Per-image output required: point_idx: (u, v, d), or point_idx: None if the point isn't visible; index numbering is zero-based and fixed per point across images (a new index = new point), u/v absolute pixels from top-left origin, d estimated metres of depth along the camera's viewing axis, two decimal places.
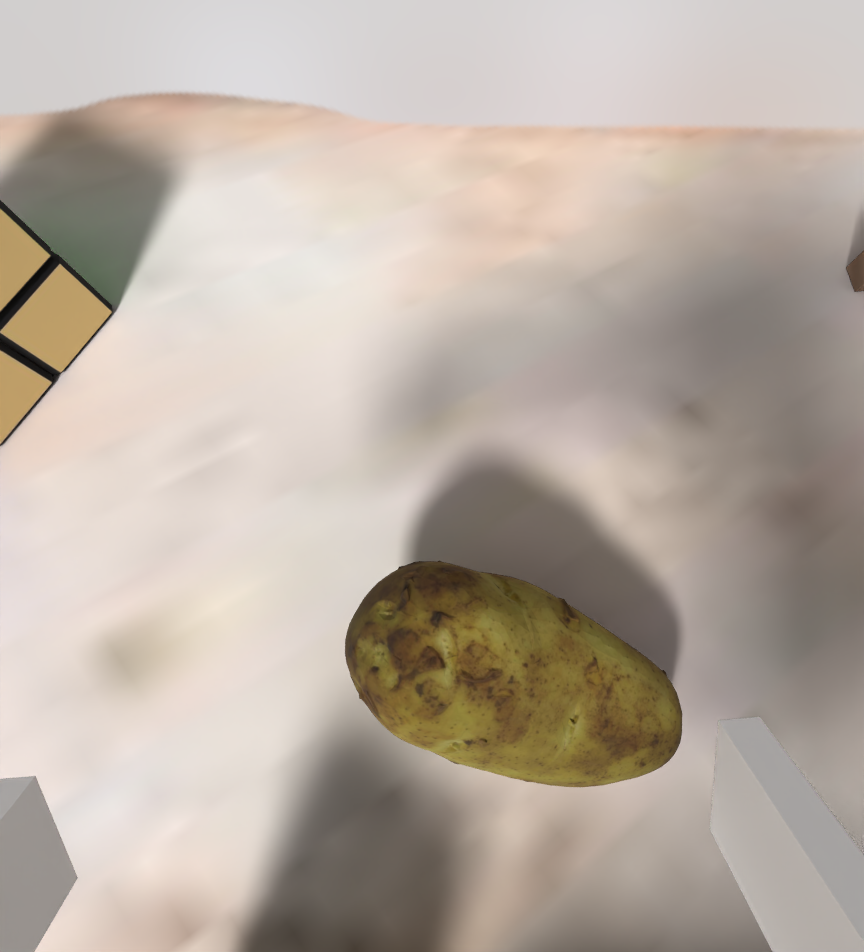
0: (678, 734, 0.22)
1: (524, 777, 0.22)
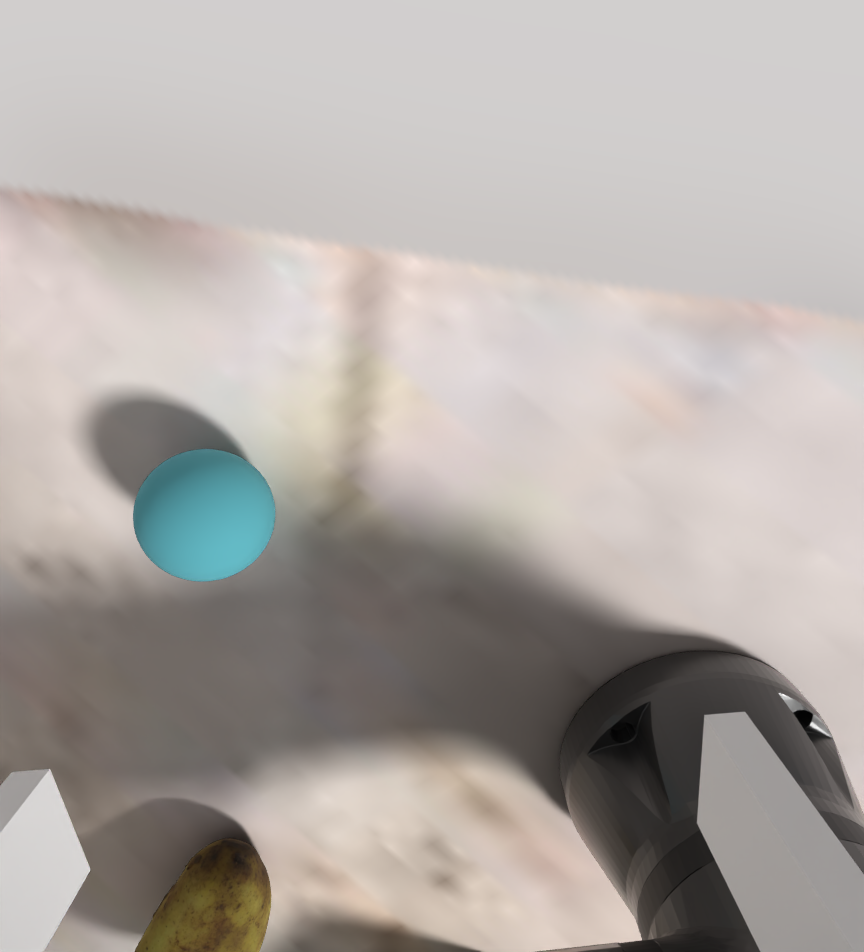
0: (220, 882, 0.33)
1: None
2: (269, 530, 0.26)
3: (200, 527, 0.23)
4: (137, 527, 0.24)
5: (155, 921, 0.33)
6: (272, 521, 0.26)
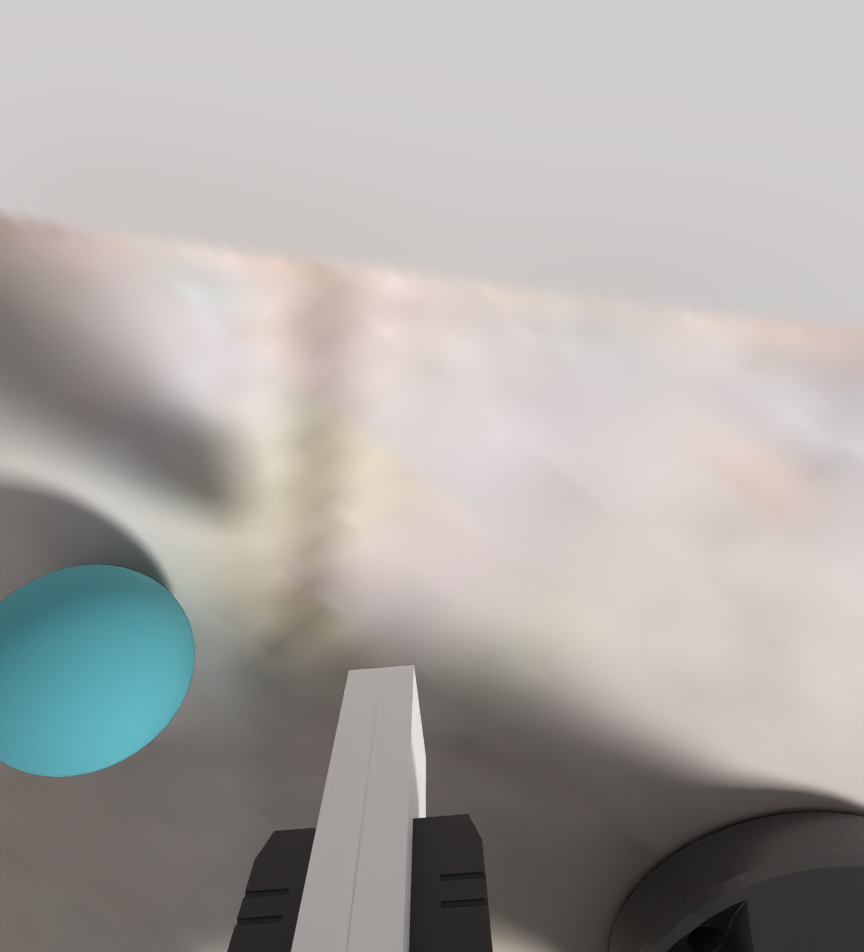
0: None
1: None
2: (180, 689, 0.17)
3: (51, 713, 0.14)
4: None
5: None
6: (185, 673, 0.17)
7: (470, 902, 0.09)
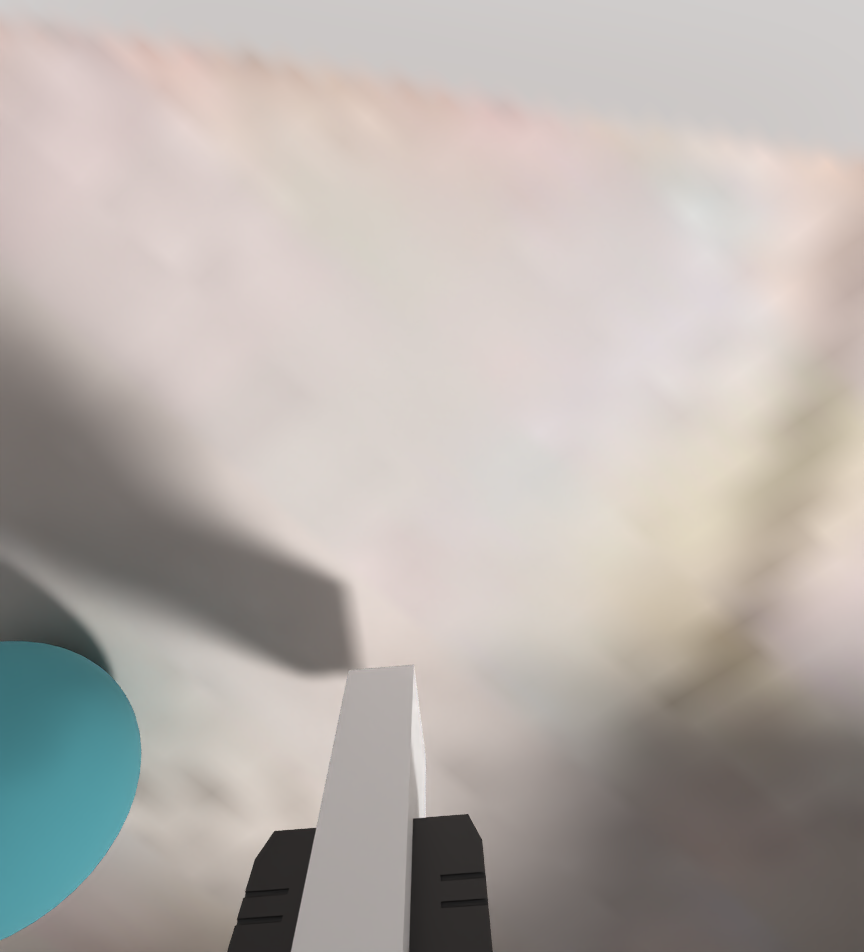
0: None
1: None
2: None
3: None
4: (125, 727, 0.13)
5: None
6: None
7: (470, 902, 0.09)
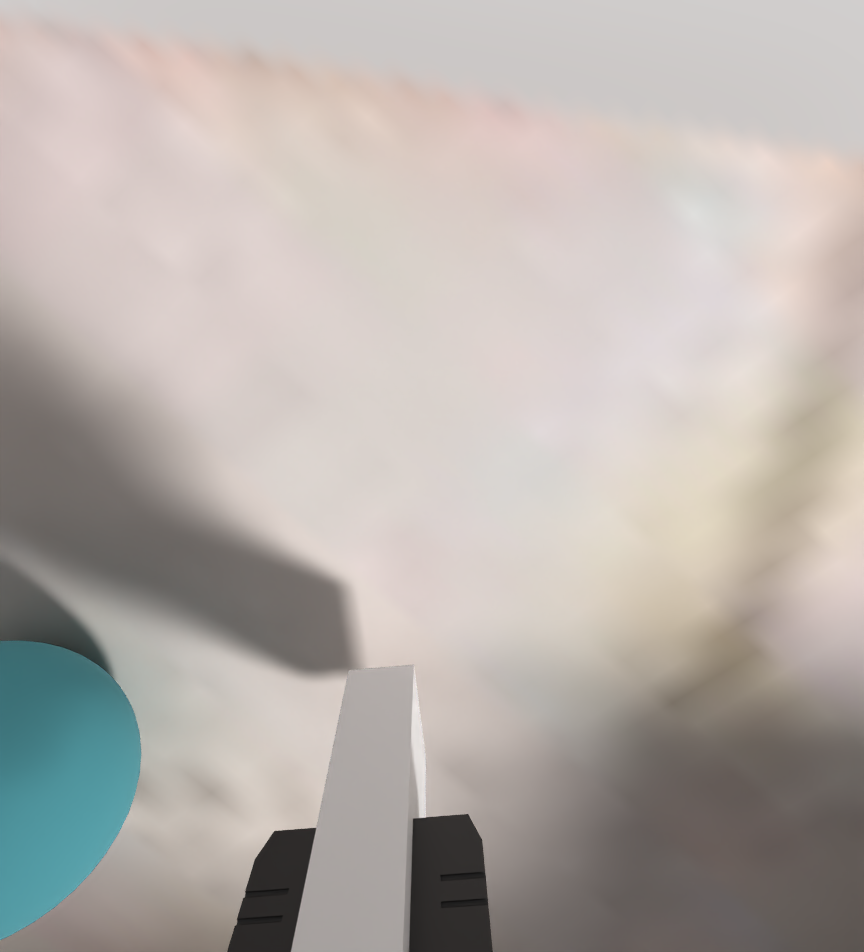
0: None
1: None
2: None
3: None
4: (125, 727, 0.13)
5: None
6: None
7: (470, 902, 0.09)
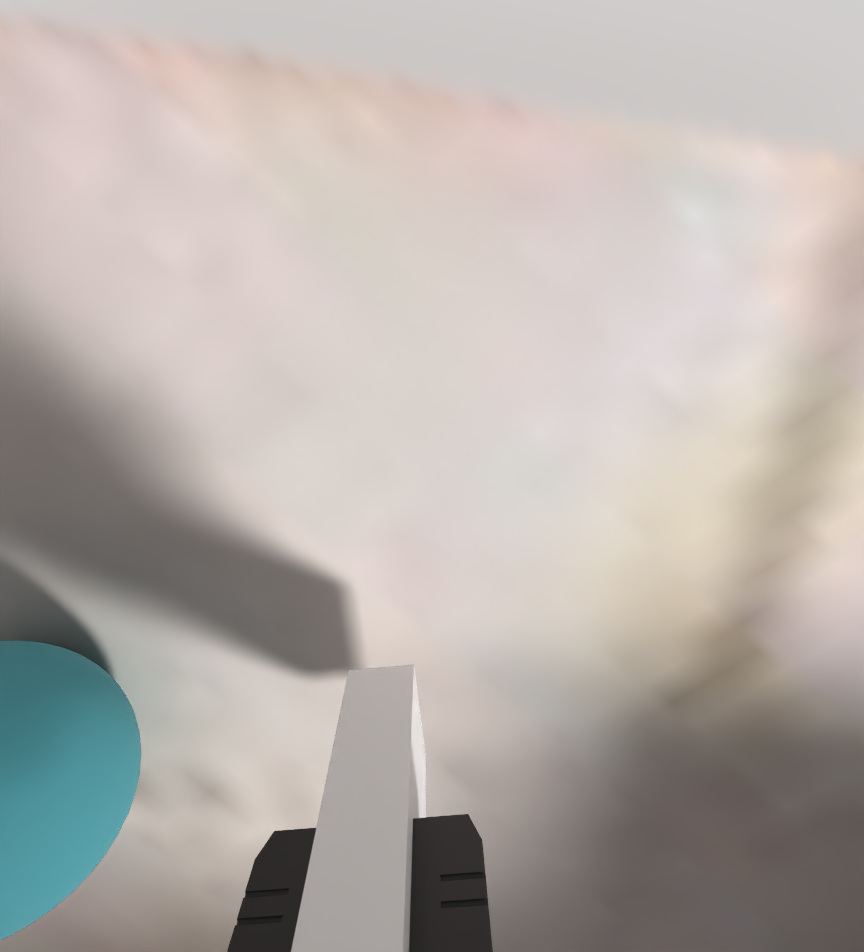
0: None
1: None
2: None
3: None
4: (125, 727, 0.13)
5: None
6: None
7: (470, 902, 0.09)
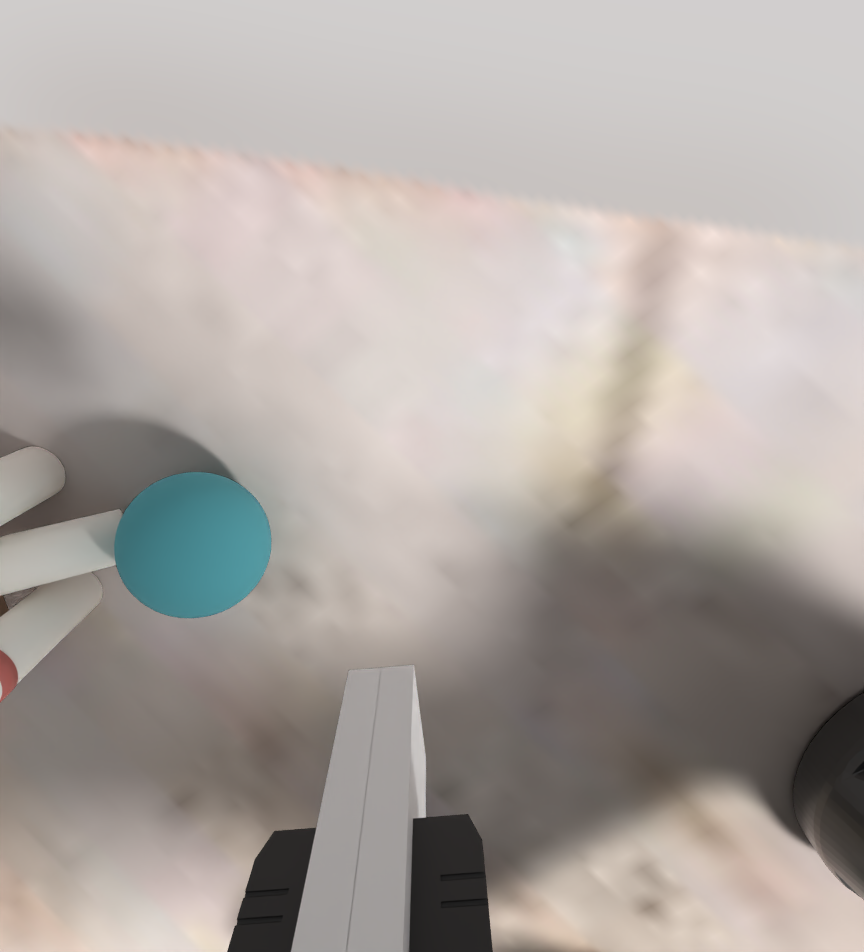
0: None
1: None
2: None
3: None
4: (266, 518, 0.24)
5: None
6: None
7: (470, 902, 0.09)
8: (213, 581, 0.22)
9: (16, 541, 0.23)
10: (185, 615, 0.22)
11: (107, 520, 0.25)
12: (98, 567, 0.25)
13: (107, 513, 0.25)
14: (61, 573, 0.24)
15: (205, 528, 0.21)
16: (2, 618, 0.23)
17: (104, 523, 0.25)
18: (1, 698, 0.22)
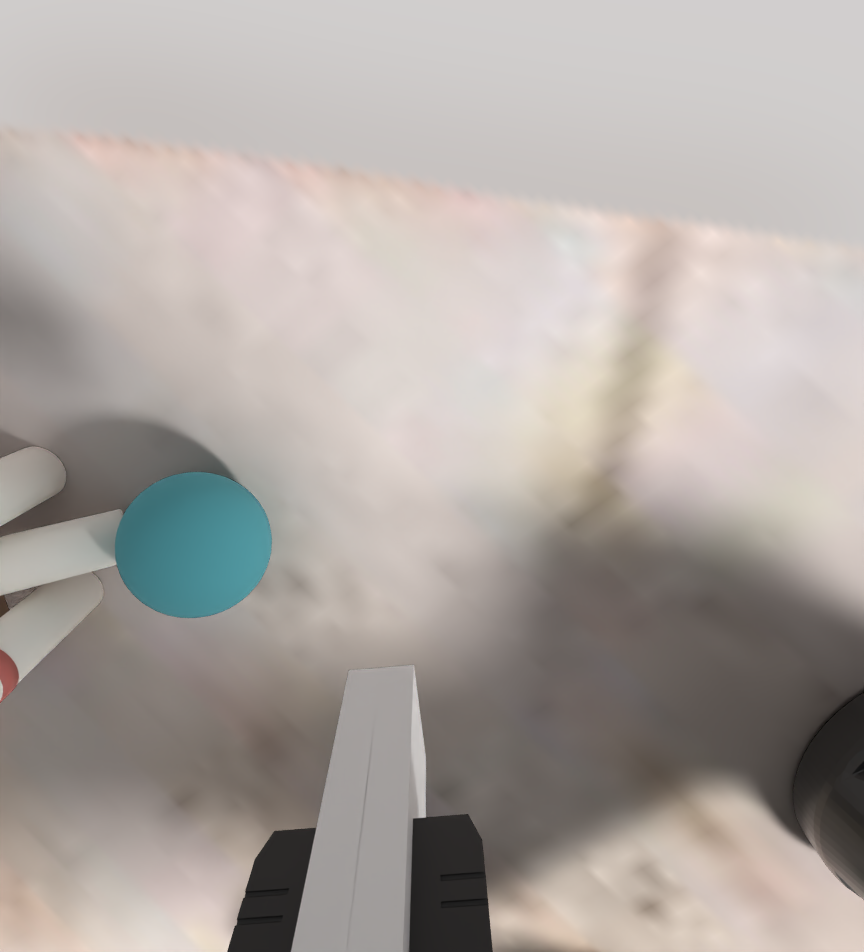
0: None
1: None
2: None
3: None
4: (266, 518, 0.24)
5: None
6: None
7: (470, 902, 0.09)
8: (213, 581, 0.22)
9: (17, 541, 0.24)
10: (186, 615, 0.23)
11: (108, 520, 0.25)
12: (99, 567, 0.25)
13: (108, 513, 0.25)
14: (62, 573, 0.24)
15: (206, 528, 0.21)
16: (3, 618, 0.23)
17: (105, 523, 0.25)
18: (2, 697, 0.22)
